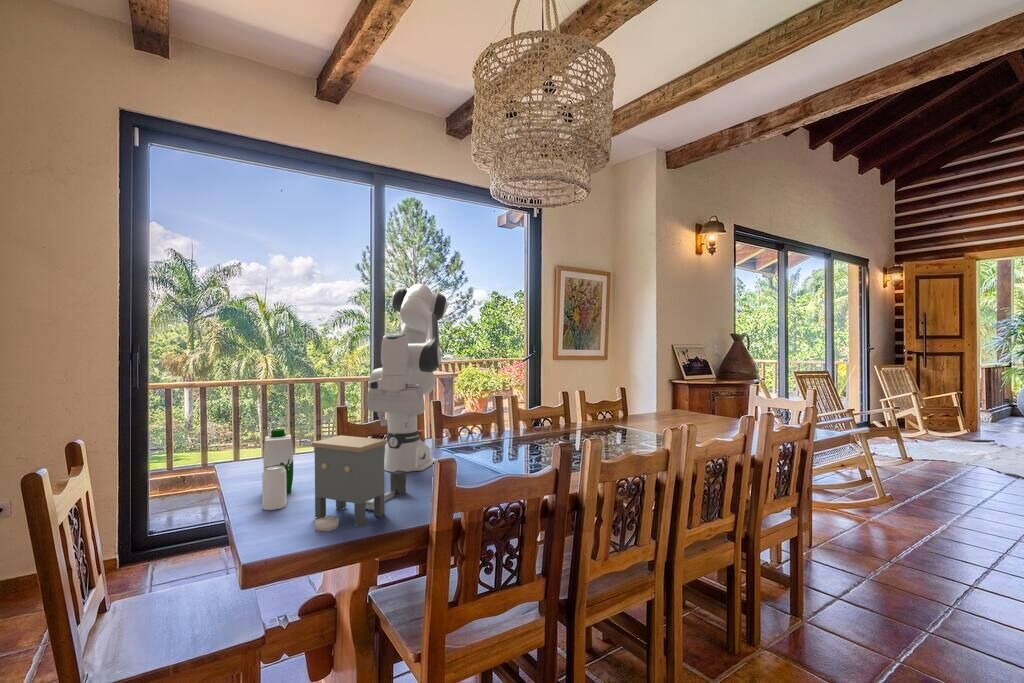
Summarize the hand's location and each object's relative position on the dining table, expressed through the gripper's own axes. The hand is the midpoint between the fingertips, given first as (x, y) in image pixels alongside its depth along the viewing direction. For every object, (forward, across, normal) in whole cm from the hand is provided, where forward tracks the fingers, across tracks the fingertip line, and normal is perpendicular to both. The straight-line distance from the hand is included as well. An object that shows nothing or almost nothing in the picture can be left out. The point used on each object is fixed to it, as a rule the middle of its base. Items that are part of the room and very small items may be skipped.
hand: (395, 426), depth 161 cm
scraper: (+22, -1, +7) cm, 23 cm away
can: (+22, +26, +25) cm, 42 cm away
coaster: (+22, 0, +31) cm, 38 cm away
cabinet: (+21, -1, +22) cm, 31 cm away
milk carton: (+22, +36, +14) cm, 45 cm away
